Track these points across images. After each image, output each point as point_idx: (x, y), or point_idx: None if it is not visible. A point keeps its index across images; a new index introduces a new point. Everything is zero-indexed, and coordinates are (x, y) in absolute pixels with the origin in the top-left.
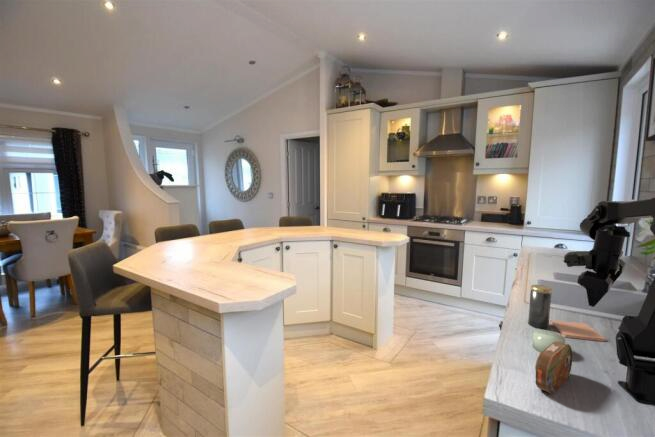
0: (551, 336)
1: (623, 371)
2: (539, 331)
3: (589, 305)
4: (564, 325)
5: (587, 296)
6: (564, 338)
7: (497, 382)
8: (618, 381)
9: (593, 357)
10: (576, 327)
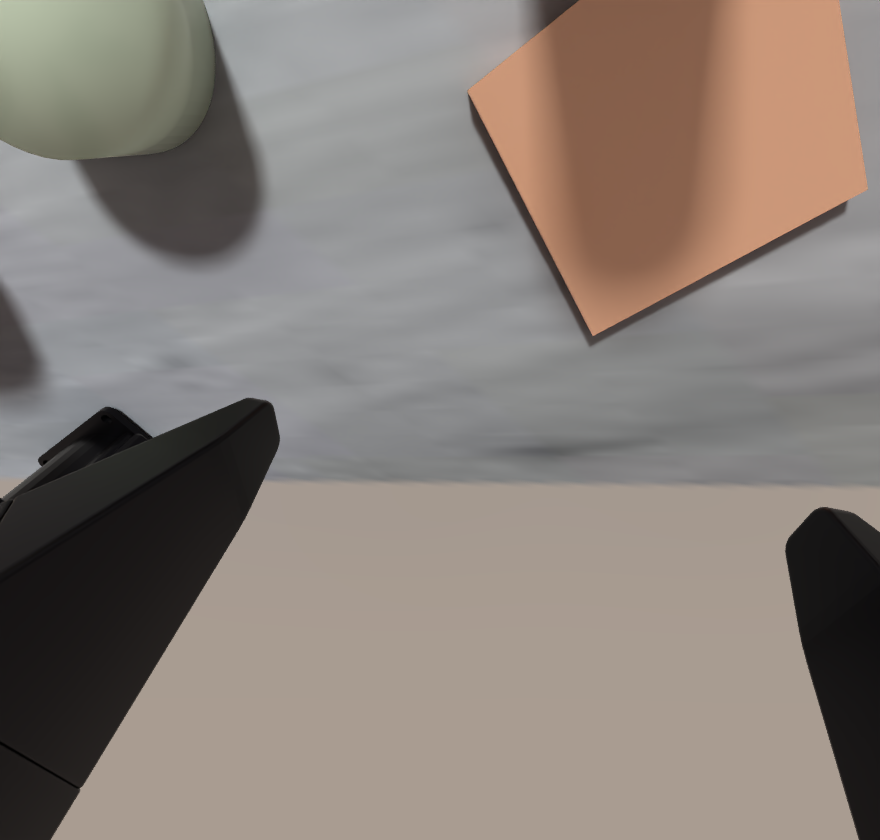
0: (20, 30)
1: None
2: None
3: (248, 403)
4: (708, 25)
5: (47, 483)
6: (109, 146)
7: None
8: (102, 412)
9: (283, 302)
10: (714, 136)
